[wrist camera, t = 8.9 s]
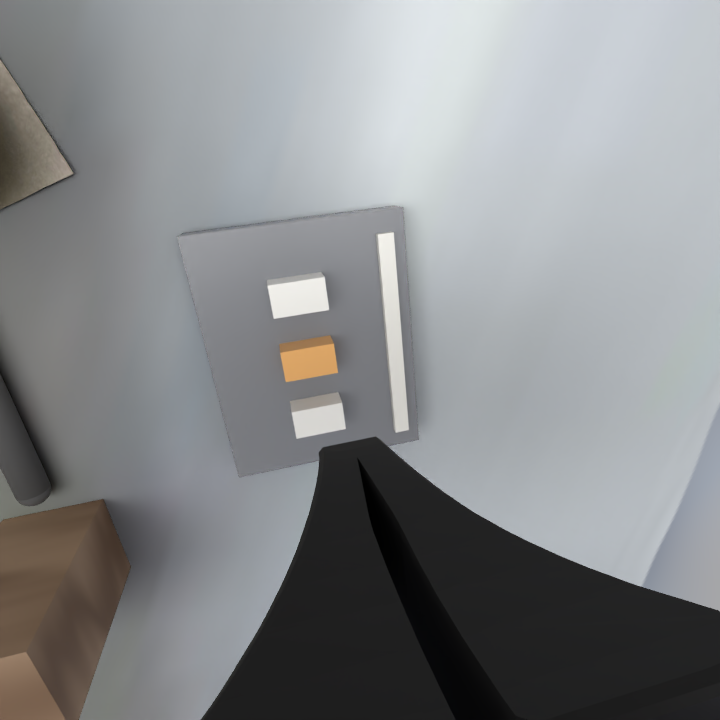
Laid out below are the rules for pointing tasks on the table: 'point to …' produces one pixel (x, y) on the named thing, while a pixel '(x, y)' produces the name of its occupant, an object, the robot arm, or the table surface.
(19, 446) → the dark gray rod
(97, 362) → the table surface
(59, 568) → the walnut block
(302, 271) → the panel
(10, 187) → the condiment
